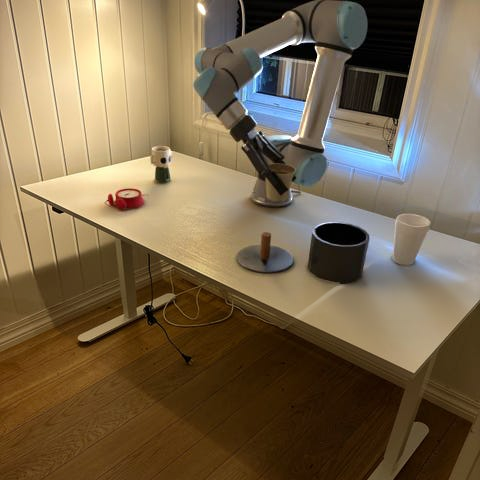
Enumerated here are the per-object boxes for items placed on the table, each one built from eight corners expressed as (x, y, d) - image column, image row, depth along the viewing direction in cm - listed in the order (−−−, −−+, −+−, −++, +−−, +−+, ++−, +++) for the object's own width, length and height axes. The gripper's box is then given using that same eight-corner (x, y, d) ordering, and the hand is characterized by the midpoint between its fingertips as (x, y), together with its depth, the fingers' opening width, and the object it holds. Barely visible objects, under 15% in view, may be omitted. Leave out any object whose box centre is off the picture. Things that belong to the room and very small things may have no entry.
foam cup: (401, 270, 141) (412, 229, 134) (380, 256, 148) (389, 216, 140) (425, 263, 145) (437, 223, 137) (404, 250, 152) (414, 211, 144)
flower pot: (291, 205, 137) (294, 175, 132) (258, 201, 138) (260, 172, 133) (295, 194, 144) (298, 165, 139) (264, 190, 146) (266, 161, 141)
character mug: (158, 187, 189) (156, 153, 182) (146, 182, 193) (144, 149, 185) (178, 180, 196) (177, 147, 189) (167, 176, 200) (165, 143, 192)
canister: (325, 252, 149) (331, 217, 142) (371, 269, 141) (379, 233, 134) (296, 270, 139) (300, 233, 132) (344, 290, 131) (351, 252, 124)
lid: (260, 243, 152) (261, 217, 147) (303, 260, 144) (307, 234, 139) (224, 261, 142) (224, 234, 137) (269, 281, 133) (271, 253, 128)
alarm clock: (151, 193, 173) (116, 194, 163) (149, 210, 176) (114, 212, 165) (134, 185, 179) (99, 186, 168) (132, 202, 182) (97, 204, 171)
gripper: (241, 122, 143) (288, 182, 149) (215, 141, 126) (269, 207, 132) (259, 105, 139) (306, 167, 145) (234, 122, 122) (289, 192, 127)
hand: (288, 186), depth 138 cm, fingers closed on flower pot, 9 cm apart
